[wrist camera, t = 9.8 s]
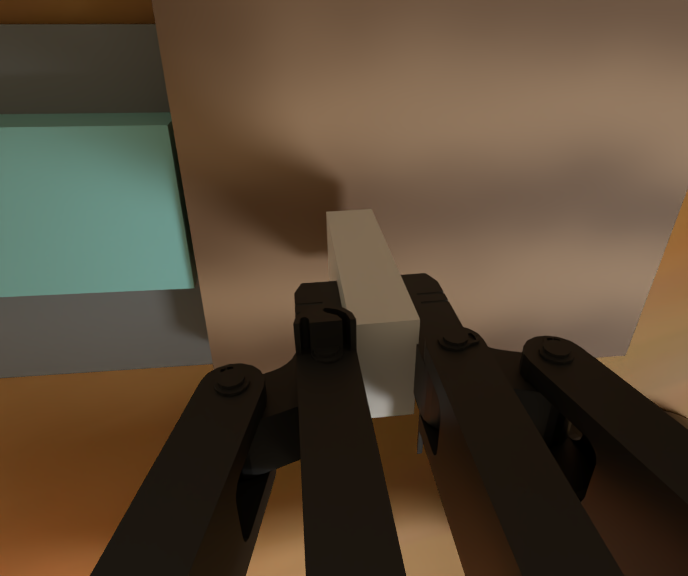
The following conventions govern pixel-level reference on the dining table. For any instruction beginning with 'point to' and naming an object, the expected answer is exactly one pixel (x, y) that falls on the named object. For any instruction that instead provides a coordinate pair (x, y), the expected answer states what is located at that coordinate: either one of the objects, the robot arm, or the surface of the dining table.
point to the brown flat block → (431, 156)
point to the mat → (108, 307)
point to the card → (92, 205)
